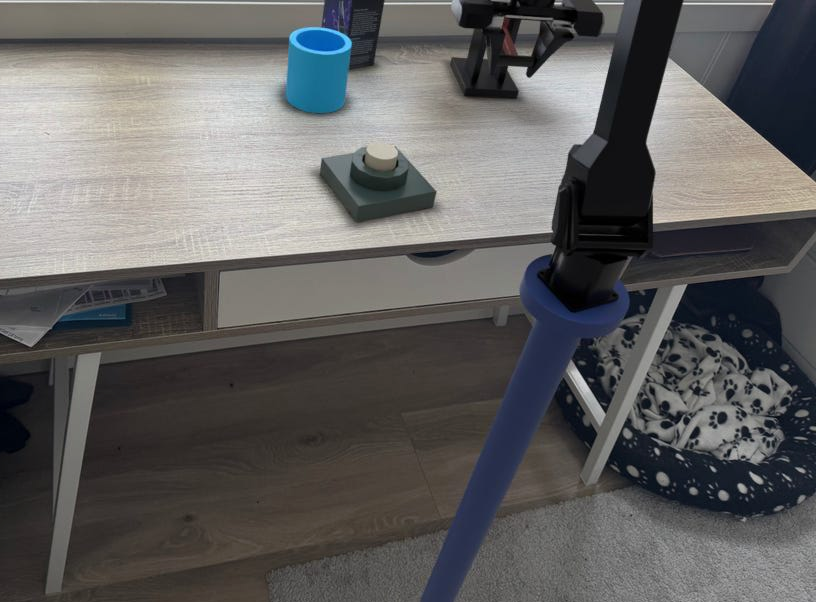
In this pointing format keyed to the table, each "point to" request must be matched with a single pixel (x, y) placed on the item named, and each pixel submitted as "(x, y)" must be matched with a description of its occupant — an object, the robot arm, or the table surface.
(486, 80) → the bracket
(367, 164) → the button
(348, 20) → the box
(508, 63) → the lever
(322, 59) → the mug
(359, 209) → the button block
